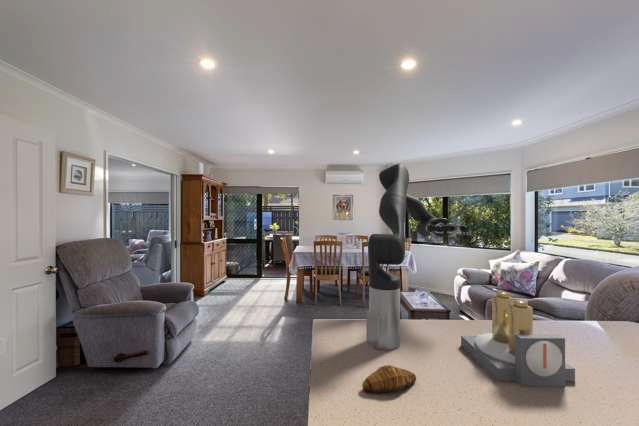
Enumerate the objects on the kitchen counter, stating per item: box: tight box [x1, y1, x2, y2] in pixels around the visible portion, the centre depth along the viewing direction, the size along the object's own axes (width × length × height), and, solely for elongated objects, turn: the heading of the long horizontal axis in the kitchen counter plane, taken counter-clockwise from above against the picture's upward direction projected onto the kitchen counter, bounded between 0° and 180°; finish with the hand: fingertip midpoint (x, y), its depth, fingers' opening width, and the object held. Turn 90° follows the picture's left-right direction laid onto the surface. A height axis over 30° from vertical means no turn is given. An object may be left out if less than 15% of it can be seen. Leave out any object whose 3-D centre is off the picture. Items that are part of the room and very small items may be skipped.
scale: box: [460, 332, 576, 388], centre depth 75 cm, size 18×21×11 cm
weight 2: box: [509, 299, 534, 356], centre depth 73 cm, size 5×5×13 cm
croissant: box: [362, 364, 417, 394], centre depth 65 cm, size 14×7×5 cm, turn 108°
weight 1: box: [491, 290, 514, 344], centre depth 81 cm, size 5×5×13 cm
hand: (453, 229), depth 100 cm, fingers open, 8 cm apart
